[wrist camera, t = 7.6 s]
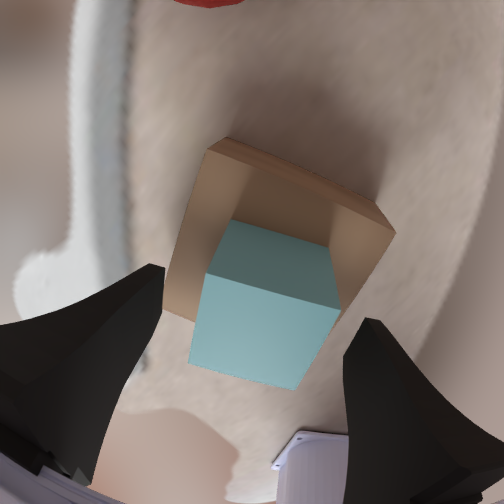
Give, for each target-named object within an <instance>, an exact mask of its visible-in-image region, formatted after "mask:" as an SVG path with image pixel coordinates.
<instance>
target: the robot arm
mask: <svg viewBox="0 0 504 504" xmlns="http://www.w3.org/2000/svg"><path fill="white" fill-rule="evenodd" d="M164 278H165V268H164V267H161V266H157V265H154V264H150V263H149V264H147V265H145V266H143V267H142V268H140V269H138V270H137V271H135V272H133V273H131V274H130V275H128V276H126V277H125V278H123V279H121V280H119V281H118V282H116V283H114V284H112V285H111V286H109V287H107V288H105V289H103V290H101V291H99V292H97V293H95V294H93V295H91V296H89V297H87V298H85V299H83V300H81V301H79V302H77V303H74V304H72V305H70V306H67V307H65V308H62V309H59V310H57V311H54V312H51V313H47V314H44V315H41V316H38V317H35V318H31V319H28V320H23V321H19V322H15V323H9V324H4V325H0V504H125V503H123V502H120V501H117V500H115V499H112V498H110V497H107V496H105V495H103V494H100V493H98V492H96V491H94V490H91V489H89V488H87V487H85V486H88V485H91V483H92V479H93V475H94V471H95V467H96V463H97V459H98V456H99V453H100V449H101V446H102V443H103V439H104V437H105V433H106V431H107V428H108V425H109V422H110V419H111V417H112V414H113V411H114V409H115V406H116V404H117V401H118V399H119V396H120V394H121V392H122V389H123V387H124V385H125V383H126V381H127V379H128V378H129V376H130V374H131V372H132V371H133V369H134V367H135V365H136V364H137V362H138V360H139V358H140V357H141V355H142V353H143V351H144V350H145V348H146V346H147V344H148V343H149V341H150V339H151V337H152V336H153V333H154V331H155V328H156V326H157V324H158V321H159V319H160V316H161V314H162V305H163V291H164ZM343 386H344V395H345V404H346V413H347V423H348V435H336V434H326V433H317V432H309V431H298V432H297V433H296V434H295V435H294V437H293V438H292V439H291V441H290V442H289V443H288V445H287V446H286V447H285V448H284V450H283V451H282V452H281V454H280V455H279V456H278V457H277V459H276V460H275V461H274V462H273V464H272V465H271V469H273V470H279V477H278V488H277V499H276V504H477V503H479V502H481V501H482V499H483V497H482V493H481V492H483V491H484V490H486V489H487V488H489V487H490V486H492V485H493V484H495V483H496V482H498V481H499V480H501V479H502V478H503V477H504V442H502V441H501V440H499V439H497V438H495V437H494V436H492V435H490V434H489V433H487V432H486V431H484V430H483V429H481V428H480V427H479V426H477V425H476V424H474V423H473V422H472V421H471V420H469V419H468V418H467V417H465V416H464V415H463V414H462V413H461V412H460V411H459V410H457V409H456V408H455V407H454V406H453V405H452V404H450V402H449V401H447V400H446V399H445V398H444V396H443V395H442V394H441V393H439V391H437V389H436V388H435V387H434V386H433V385H432V384H431V383H430V382H429V381H428V379H427V378H426V377H425V376H424V375H423V373H422V372H421V371H420V370H419V369H418V367H417V366H416V365H415V364H414V362H413V361H412V360H411V359H410V357H409V356H408V355H407V353H406V352H405V351H404V350H403V348H402V347H401V346H400V344H399V343H398V342H397V340H396V339H395V338H394V337H393V335H392V334H391V333H390V331H389V330H388V329H387V328H386V327H385V325H384V324H383V323H382V322H381V321H380V320H376V319H371V318H367V317H365V319H364V321H363V322H362V324H361V326H360V328H359V330H358V331H357V333H356V335H355V337H354V339H353V340H352V342H351V344H350V346H349V347H348V349H347V351H346V352H345V354H344V356H343ZM492 504H504V500H500V501H498V502H495V503H492Z"/></svg>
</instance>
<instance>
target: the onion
mask: <svg viewBox="0 0 504 504" xmlns="http://www.w3.org/2000/svg"><path fill="white" fill-rule="evenodd" d="M174 1H176V2H179V3H182V4H186V5H193V6H199V7H205V8H214V7H220V6H226V5H233V4H238V3H240V2H242V1H244V0H174Z"/></svg>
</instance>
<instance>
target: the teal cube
mask: <svg viewBox="0 0 504 504" xmlns="http://www.w3.org/2000/svg"><path fill="white" fill-rule="evenodd" d="M340 312H341V306H340V301H339V296H338V290H337V285H336V280H335V276H334V271H333V266H332V261H331V256H330V252H329V248H328V247H324V246H321V245H318V244H314V243H311V242H308V241H304V240H301V239H298V238H294V237H291V236H288V235H284V234H281V233H277V232H274V231H271V230H267V229H264V228H260V227H257V226H253V225H250V224H246V223H243V222H239V221H236V220H232V219H231V220H230V222H229V224H228V226H227V228H226V230H225V233H224V235H223V237H222V239H221V241H220V243H219V245H218V248H217V250H216V252H215V254H214V256H213V258H212V261H211V263H210V265H209V267H208V269H207V271H206V274H205V279H204V284H203V289H202V293H201V298H200V303H199V308H198V313H197V318H196V323H195V328H194V333H193V338H192V343H191V348H190V354H189V359H188V363H189V364H192V365H195V366H199V367H202V368H205V369H209V370H212V371H216V372H219V373H223V374H227V375H231V376H234V377H238V378H242V379H246V380H250V381H254V382H258V383H263V384H267V385H271V386H276V387H280V388H285V389H290V390H295V389H296V388H297V386H298V385H299V383H300V381H301V380H302V378H303V377H304V375H305V373H306V372H307V370H308V368H309V367H310V365H311V363H312V362H313V360H314V358H315V357H316V355H317V353H318V351H319V350H320V348H321V346H322V344H323V343H324V341H325V339H326V337H327V336H328V334H329V332H330V330H331V328H332V327H333V325H334V323H335V321H336V319H337V318H338V316H339V314H340Z"/></svg>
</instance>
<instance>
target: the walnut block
mask: <svg viewBox="0 0 504 504" xmlns="http://www.w3.org/2000/svg"><path fill="white" fill-rule="evenodd" d="M231 219H232V220H236V221H239V222H243V223H246V224H250V225H253V226H257V227H260V228H264V229H267V230H271V231H274V232H277V233H281V234H284V235H288V236H291V237H294V238H298V239H301V240H304V241H308V242H311V243H314V244H318V245H321V246H324V247H328V248H329V252H330V256H331V261H332V266H333V271H334V276H335V280H336V285H337V290H338V296H339V301H340V306H341V312H340V314H339V316H338V318H337V319H336V321H335V323H334V325H333V327H332V328H331V330H330V332H331V331H332V329H333V328H334V327H335V325H336V324H337V322H338V321H339V320H340V318H341V317H342V315H343V314H344V313H345V311H346V310H347V308H348V307H349V305H350V304H351V303H352V301H353V300H354V298H355V297H356V295H357V294H358V292H359V291H360V289H361V288H362V286H363V285H364V283H365V282H366V280H367V279H368V277H369V276H370V274H371V273H372V271H373V270H374V268H375V267H376V265H377V263H378V262H379V260H380V259H381V257H382V256H383V254H384V252H385V251H386V249H387V248H388V246H389V244H390V243H391V241H392V239H393V238H394V236H395V234H396V231H395V230H394V228H393V227H392V226H391V224H390V223H389V221H388V220H387V219H386V217H385V216H384V214H383V213H382V212H381V210H380V209H379V208H378V206H377V205H376V204H375V203H374V202H372V201H370V200H368V199H366V198H364V197H362V196H360V195H358V194H356V193H354V192H352V191H350V190H348V189H346V188H344V187H342V186H340V185H338V184H336V183H334V182H331V181H329V180H327V179H325V178H323V177H321V176H319V175H316V174H314V173H312V172H310V171H308V170H305V169H303V168H301V167H299V166H296V165H294V164H292V163H289V162H287V161H285V160H282V159H280V158H278V157H275V156H273V155H271V154H268V153H266V152H263V151H261V150H258V149H256V148H253V147H251V146H248V145H246V144H243V143H241V142H238V141H235V140H233V139H230V138H228V137H225V138H224V139H222V140H220V141H219V142H217V143H215V144H214V145H212V146H211V147H209V148H207V150H206V153H205V156H204V158H203V161H202V164H201V167H200V170H199V173H198V176H197V179H196V182H195V185H194V188H193V191H192V194H191V197H190V200H189V203H188V206H187V209H186V212H185V215H184V219H183V222H182V225H181V228H180V232H179V235H178V238H177V242H176V245H175V248H174V252H173V255H172V259H171V262H170V266H169V269H168V273H167V277H166V280H165V284H164V291H163V305H162V309H164V310H166V311H169V312H171V313H173V314H176V315H178V316H181V317H183V318H185V319H188V320H190V321H193V322H195V323H196V318H197V313H198V308H199V303H200V298H201V293H202V289H203V284H204V279H205V274H206V271H207V269H208V267H209V265H210V263H211V261H212V258H213V256H214V254H215V252H216V250H217V248H218V245H219V243H220V241H221V239H222V237H223V235H224V233H225V230H226V228H227V226H228V224H229V222H230V220H231ZM330 332H329V333H330ZM328 335H329V334H328Z"/></svg>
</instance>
